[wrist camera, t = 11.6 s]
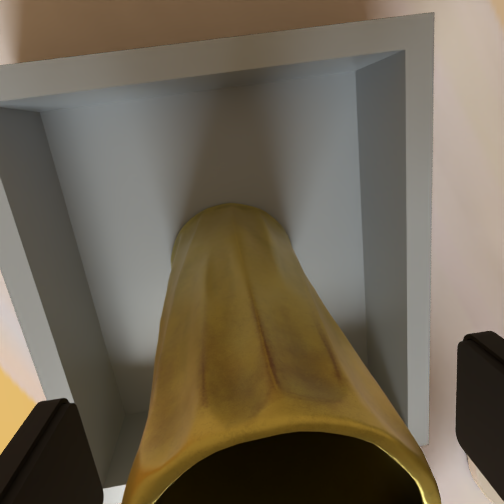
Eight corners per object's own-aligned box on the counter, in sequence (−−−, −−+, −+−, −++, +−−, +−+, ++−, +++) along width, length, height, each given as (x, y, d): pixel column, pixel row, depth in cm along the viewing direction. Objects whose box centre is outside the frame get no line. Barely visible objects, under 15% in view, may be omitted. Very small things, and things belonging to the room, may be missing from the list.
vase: (282, 191, 19) (476, 347, 5) (299, 304, 21) (474, 638, 7) (158, 215, 18) (10, 449, 5) (187, 327, 20) (139, 722, 7)
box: (369, 47, 18) (434, 11, 13) (379, 375, 23) (428, 444, 18) (17, 92, 17) (-69, 73, 12) (114, 422, 22) (85, 509, 17)
